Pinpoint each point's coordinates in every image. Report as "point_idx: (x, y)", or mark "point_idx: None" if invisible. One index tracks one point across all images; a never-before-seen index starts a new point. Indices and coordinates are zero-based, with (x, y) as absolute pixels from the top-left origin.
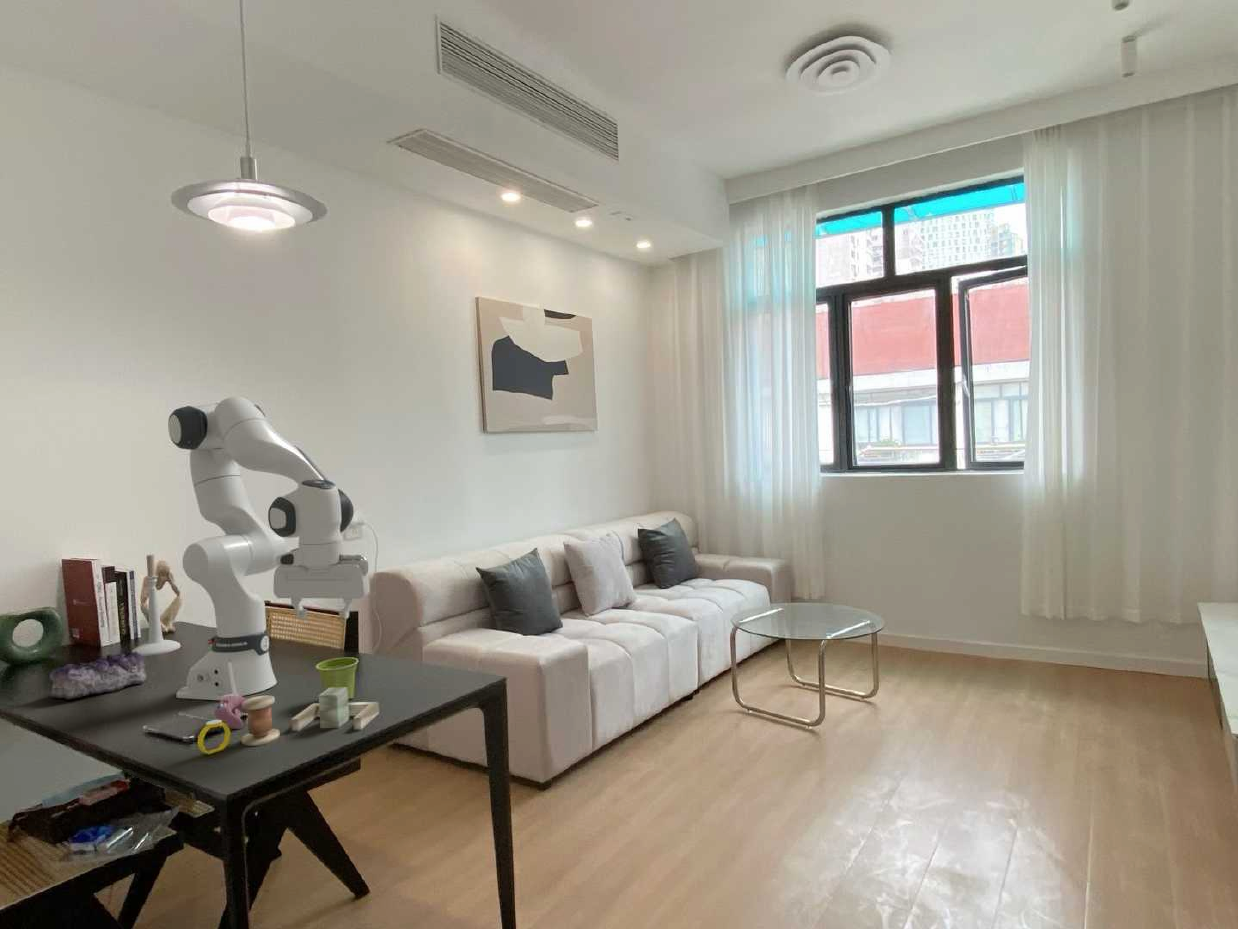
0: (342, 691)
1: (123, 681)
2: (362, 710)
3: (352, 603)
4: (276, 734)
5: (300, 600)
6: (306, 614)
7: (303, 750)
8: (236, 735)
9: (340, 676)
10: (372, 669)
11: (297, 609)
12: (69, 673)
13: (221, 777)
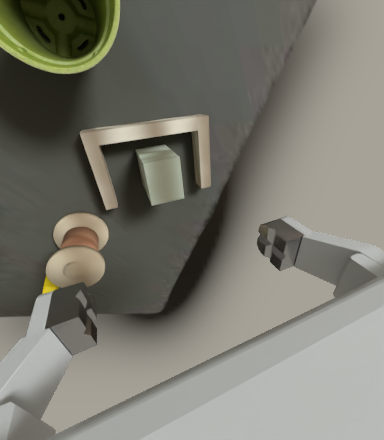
0: (181, 177)
1: None
2: (200, 159)
3: (355, 242)
4: (104, 228)
5: (30, 423)
6: (83, 295)
7: (168, 242)
8: (22, 231)
9: (94, 51)
10: None
11: (59, 372)
12: None
13: (128, 301)
